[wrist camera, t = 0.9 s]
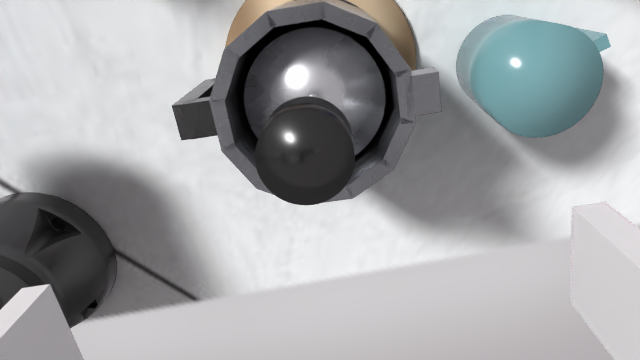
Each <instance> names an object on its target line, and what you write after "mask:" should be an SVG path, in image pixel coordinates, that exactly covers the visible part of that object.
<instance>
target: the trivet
mask: <svg viewBox="0 0 640 360" xmlns="http://www.w3.org/2000/svg"><path fill="white" fill-rule="evenodd" d="M289 1H293V0H246V1H245V2H244V4H243V5H242V7H241V8H240V9H239V11H238V13H237V15H236V17H235V18H234V20H233V22H232V25H231V28H230V30H229V33H228V37H227V41H226V46H225V48H226V47H227V46H228V45H229V44H230V43H231V42H233V41H234V40H235V39H236V38H237V37H238V36H239V35H240V34H241V33H243V32H244V31H245V30H246V29H247V28H248V27H249V26H250V25H252V24H253V23H254V22H255V21H256V20H257V19H258V18H259V17H260V16H262V15H263V14H264V13H265V12H266V11H268V10H271V9H273V8H275V7H277V6H280V5H282V4H284V3H286V2H289ZM347 1H349V2H351V3H353V4H355V5H356V6H358V7H359V8H361V9H363V10H364V11H365V12H366V13H367V14H368V15H369V16H370V17H371V18H372V19H373V20H375V21H376V22H377V23H378V25H379V26H380V27H381V29H382V30H383V32H384V33H385V34H386V36H387V37H388V38H389V40H390V41H391V42H392V44H393V45H394V46H395V48H396V49H397V50H398V52H399V53H400V55H401V56H402V57H403V59H404V60H405V61H406V63H407V64H408V65H409V67H410V68H411V71H413V70H416V51H415V45H414V40H413V36H412V33H411V29H410V27H409V25H408V23H407V20H406V18H405V16H404V14H403V13H402V11H401V10H400V8H399V6H398V5H397V4H396V2H395V1H394V0H347Z"/></svg>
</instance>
